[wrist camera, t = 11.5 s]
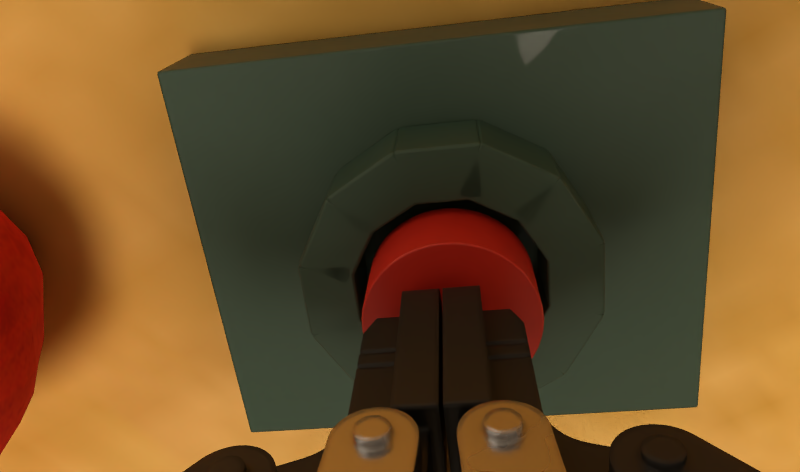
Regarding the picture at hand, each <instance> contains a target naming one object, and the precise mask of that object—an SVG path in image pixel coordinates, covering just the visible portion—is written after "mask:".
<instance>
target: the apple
mask: <svg viewBox="0 0 800 472" xmlns="http://www.w3.org/2000/svg"><path fill="white" fill-rule="evenodd" d="M43 341H44V302H43V273H42V271H41V268H40V266H39V264H38V261H37V259H36V257H35V254H34V252H33V250H32V248H31V245H30V243H29V241H28V238H27V236H26V235H25V234H24V233H23V232H22V231H21V230H20V229H19V228H18V227H17V226H16V225H15V224H14V223H13V222H12V221H11V220H10V219H9V218H8V217H7V216H6V215H5V214H4V213H3V212H2V211H1V210H0V454H1V452H2V451H3V449H4V448H5V446H6V444H7V443H8V441H9V440H10V438H11V436H12V435H13V433H14V432H15V430H16V428H17V427H18V425H19V424H20V422H21V420H22V417H23V415H24V413H25V411H26V409H27V407H28V404H29V402H30V400H31V398H32V396H33V393H34V387H35V381H36V375H37V368H38V362H39V358H40V354H41V349H42V345H43Z"/></svg>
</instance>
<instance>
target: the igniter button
mask: <svg viewBox="0 0 800 472" xmlns="http://www.w3.org/2000/svg"><path fill="white" fill-rule="evenodd" d="M476 285H480V292H481V301H482V310H483V311H484V310H498V309H511V310H512V311H513V312H514V313H515V314H516V315H517V316H518V317H519V318H520V319H521V320H522V321H523V322H524V324H525V329H526V334H527V339H528V344H529V348H530V353H531V358H533V356H534V355H535V353H536V351H537V349H538V347H539V344H540V341H541V338H542V334H543V329H544V312H543V306H542V302H541V298H540V294H539V290H538V286H537V282H536V278H535V274H534V270H533V267H532V263H531V259H530V257H529V255H528V252H527V250H526V248H525V247H524V245H523V244H522V242H521V241H520V239H519V238H518V237H517V236H516V235H515V234H514V233H513V232H512V231H511V230H510V229H509V228H508V227H507V226H505V225H504V224H502V223H501V222H499V221H498V220H496V219H494V218H492V217H490V216H488V215H485V214H482V213H480V212H477V211H472V210H467V209H458V208H443V209H437V210H431V211H428V212H424V213H421V214H418V215H416V216H414V217H411V218H410V219H408V220H406V221H404V222H403V223H401V224H400V225H399V226H397V227H396V228H395V229H393V230H392V231H391V232H390V233H389V234H388V235H387V236H386V238H385V239H384V240H383V242H382V243H381V244H380V246H379V248H378V250H377V252H376V254H375V256H374V259H373V261H372V266H371V270H370V275H369V280H368V284H367V289H366V294H365V299H364V304H363V308H362V331H363V334H364V332H365V331H366V330H367V329H368V328H369V327H370V326H371V324H372V323H373V322H374V321H375V320H376V319H377V318H389V317H399V314H400V305H401V295H402V291H411V290H425V289H438V288H439V289H440V294H441V303H442V289H443V288H449V287H463V286H476ZM442 313H443V310H442Z"/></svg>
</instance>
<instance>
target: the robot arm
mask: <svg viewBox="0 0 800 472" xmlns="http://www.w3.org/2000/svg"><path fill="white" fill-rule="evenodd" d="M442 310H443V313H442ZM357 366H358V369H357V370H356V375H355V380H354V386H353V391H352V396H351V402H350V407H349V412H348V416H346V417H345V418H343V419H342V420H341V421H339V422H338V423H337V424H336V425H335V426H334V428H333V429H332V430H331V432H330V434H329V437H328V439H327V442H326V446H325V449H323V450H321V451H320V452H318V453H316V454H313V455H311V456H309V457H306V458H303V459H300V460H296V461H293V462H289V463H286V464H283V465H279V466H276V465H275V462H274V459H273V458H272V456H271V455H270V454H269V453H268V452H266V451H265V450H263V449H261V448H258V447H254V446H247V445H243V446H232V447H228V448H224V449H221V450H218V451H215V452H213V453H211V454H209V455H207V456H205V457H204V458H202V459H201V460H199V461H198V462H196V463H195V464H193V465H192V466H191V467H189V468H188V469H186V470H185V471H183V472H760V471H758V470H757V469H755V468H753V467H751V466H749V465H748V464H746V463H744V462H742V461H740V460H739V459H737V458H735V457H733V456H731V455H730V454H728V453H726V452H724V451H722V450H721V449H719V448H717V447H715V446H713V445H712V444H710V443H708V442H706V441H704V440H703V439H701V438H699V437H697V436H695V435H694V434H692V433H689V432H687V431H685V430H682V429H679V428H676V427H672V426H667V425H657V424H649V425H640V426H636V427H632V428H630V429H627V430H625V431H624V432H622V433H620V434H619V435H618V436H617V437H616V438H615V439H614V441H613V442H612V444H611V446H610V447H608V446H603V445H597V444H591V443H587V442H583V441H579V440H576V439H573V438H571V437H569V436H567V435H565V434H563V433H561V432H560V431H558V430H557V429H556V428H554V427H553V426H552V425H551V424H550V422H549V420H548V419H547V417H546V416H545V415H544V413H543V410H542V406H541V401H540V396H539V392H538V387H537V382H536V377H535V372H534V368H533V363H532V358H531V353H530V348H529V344H528V339H527V334H526V329H525V324H524V322H523V321H522V320H521V319H520V318H519V317H518V316H517V315H516V314H515V313H514V312H513V311H512V310H511V309H498V310H484V311H483V310H482V301H481V292H480V285H476V286H463V287H449V288H443V289H442V303H441V294H440V289H439V288H438V289H425V290H411V291H402V295H401V305H400V314H399V317H389V318H377V319H376V320H375V321H374V322H373V323H372V324H371V326H370V327H369V328H368V329H367V330H366V331H365V332H364V334H363V338H362V343H361V348H360V354H359V359H358V364H357Z"/></svg>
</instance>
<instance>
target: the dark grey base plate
mask: <svg viewBox="0 0 800 472" xmlns="http://www.w3.org/2000/svg"><path fill="white" fill-rule="evenodd" d="M725 19H726V9H725V8H724V7H720V6H717V5H714V4H711V3H708V2H704V1H701V0H659V1H650V2H641V3H633V4H624V5H615V6H607V7H598V8H589V9H581V10H572V11H563V12H555V13H546V14H537V15H529V16H520V17H511V18H503V19H494V20H485V21H477V22H468V23H459V24H451V25H442V26H433V27H425V28H416V29H407V30H399V31H390V32H381V33H373V34H364V35H355V36H347V37H338V38H329V39H321V40H312V41H303V42H295V43H286V44H277V45H268V46H260V47H251V48H242V49H234V50H225V51H216V52H208V53H199V54H191V55H189V56H187V57H185V58H183V59H182V60H180V61H178V62H176V63H174V64H172V65H170V66H168V67H166V68H165V69H163V70H161V71H159V72H158V78H159V82H160V86H161V90H162V94H163V98H164V101H165V105H166V109H167V113H168V117H169V120H170V124H171V128H172V132H173V136H174V139H175V143H176V147H177V151H178V155H179V159H180V162H181V166H182V170H183V174H184V178H185V181H186V185H187V189H188V193H189V197H190V201H191V204H192V208H193V212H194V216H195V220H196V223H197V227H198V231H199V235H200V239H201V242H202V246H203V250H204V254H205V258H206V262H207V265H208V269H209V273H210V277H211V281H212V284H213V288H214V292H215V296H216V300H217V304H218V307H219V311H220V315H221V319H222V323H223V326H224V330H225V334H226V338H227V342H228V345H229V349H230V353H231V357H232V361H233V365H234V368H235V372H236V376H237V380H238V384H239V387H240V391H241V395H242V399H243V403H244V407H245V410H246V414H247V418H248V422H249V426H250V429H251V432H266V431H284V430H301V429H319V428H334V426H335V425H336V424H337V423H338V422H339V421H341V420H342V419H343V418H345V417H346V416H348V412H349V407H350V402H351V396H352V391H353V386H354V380H355V375H356V370H357V369H358V366H357V364H358V359H359V354H360V348H361V343H362V338H363V331H362V308H363V304H364V299H365V294H366V289H367V284H368V280H369V275H370V270H371V266H372V261H373V259H374V256H375V254H376V252H377V250H378V248H379V246H380V244H381V243H382V242H383V240H384V239H385V238H386V236H387V235H388V234H389V233H390V232H391V231H392V230H393V229H395V228H396V227H397V226H399V225H400V224H401V223H403V222H404V221H406V220H408V219H410V218H411V217H414V216H416V215H418V214H421V213H424V212H428V211H431V210H437V209H443V208H458V209H467V210H472V211H477V212H480V213H482V214H485V215H488V216H490V217H492V218H494V219H496V220H498V221H499V222H501V223H502V224H504V225H505V226H507V227H508V228H509V229H510V230H511V231H512V232H513V233H514V234H515V235H516V236H517V237H518V238H519V239H520V241H521V242H522V244H523V245H524V247H525V248H526V250H527V252H528V255H529V257H530V259H531V263H532V267H533V270H534V274H535V278H536V282H537V286H538V290H539V294H540V298H541V302H542V306H543V312H544V329H543V334H542V338H541V341H540V344H539V347H538V349H537V351H536V353H535V355H534V356H533V358H532V363H533V368H534V372H535V377H536V382H537V387H538V392H539V396H540V401H541V406H542V410H543V413H544V415H545V416H548V415H566V414H584V413H601V412H619V411H637V410H654V409H672V408H690V407H697V405H698V392H699V378H700V365H701V351H702V337H703V323H704V309H705V295H706V282H707V268H708V254H709V240H710V226H711V212H712V199H713V185H714V171H715V157H716V143H717V129H718V116H719V102H720V88H721V74H722V60H723V46H724V33H725Z"/></svg>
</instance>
